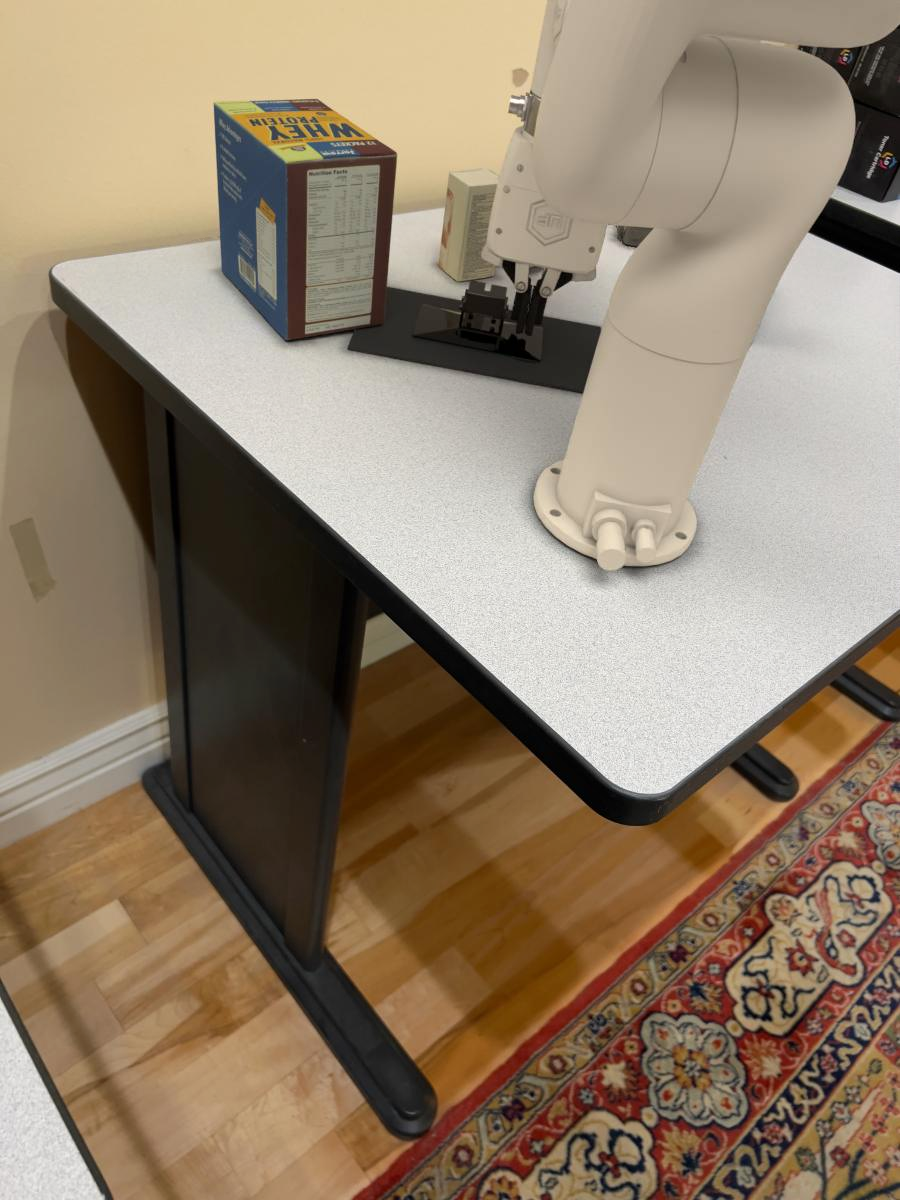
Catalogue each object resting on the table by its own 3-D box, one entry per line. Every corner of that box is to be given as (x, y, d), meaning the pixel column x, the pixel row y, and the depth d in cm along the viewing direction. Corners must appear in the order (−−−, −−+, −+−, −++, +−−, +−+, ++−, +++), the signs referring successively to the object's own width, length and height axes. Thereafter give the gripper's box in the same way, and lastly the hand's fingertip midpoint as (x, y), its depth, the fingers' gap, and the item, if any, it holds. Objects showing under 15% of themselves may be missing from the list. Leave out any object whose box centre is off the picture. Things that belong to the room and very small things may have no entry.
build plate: (542, 331, 89) (553, 287, 86) (539, 366, 84) (551, 320, 81) (421, 306, 89) (428, 261, 86) (411, 339, 84) (417, 292, 80)
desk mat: (604, 397, 82) (605, 394, 82) (347, 349, 81) (347, 346, 81) (600, 329, 92) (600, 326, 92) (372, 286, 91) (372, 283, 91)
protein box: (313, 260, 93) (318, 96, 83) (385, 326, 85) (400, 152, 74) (218, 271, 89) (210, 99, 78) (284, 342, 80) (285, 159, 69)
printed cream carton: (473, 260, 100) (489, 166, 93) (494, 277, 97) (512, 182, 91) (434, 265, 97) (447, 169, 91) (455, 282, 95) (470, 185, 88)
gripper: (477, 117, 70) (443, 331, 83) (661, 154, 71) (600, 362, 83) (484, 93, 76) (452, 297, 88) (655, 127, 76) (599, 326, 89)
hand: (524, 328), depth 86 cm, fingers closed
